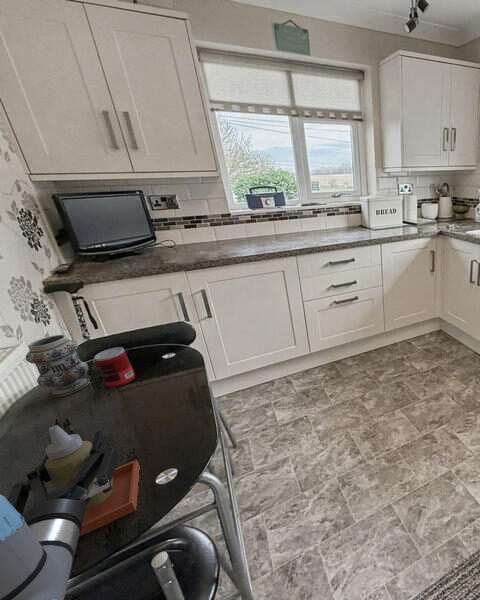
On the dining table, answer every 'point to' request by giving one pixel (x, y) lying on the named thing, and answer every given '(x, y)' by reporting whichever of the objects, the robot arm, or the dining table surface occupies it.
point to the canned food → (114, 367)
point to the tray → (115, 499)
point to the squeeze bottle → (69, 461)
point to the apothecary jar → (58, 364)
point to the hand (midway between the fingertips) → (78, 444)
